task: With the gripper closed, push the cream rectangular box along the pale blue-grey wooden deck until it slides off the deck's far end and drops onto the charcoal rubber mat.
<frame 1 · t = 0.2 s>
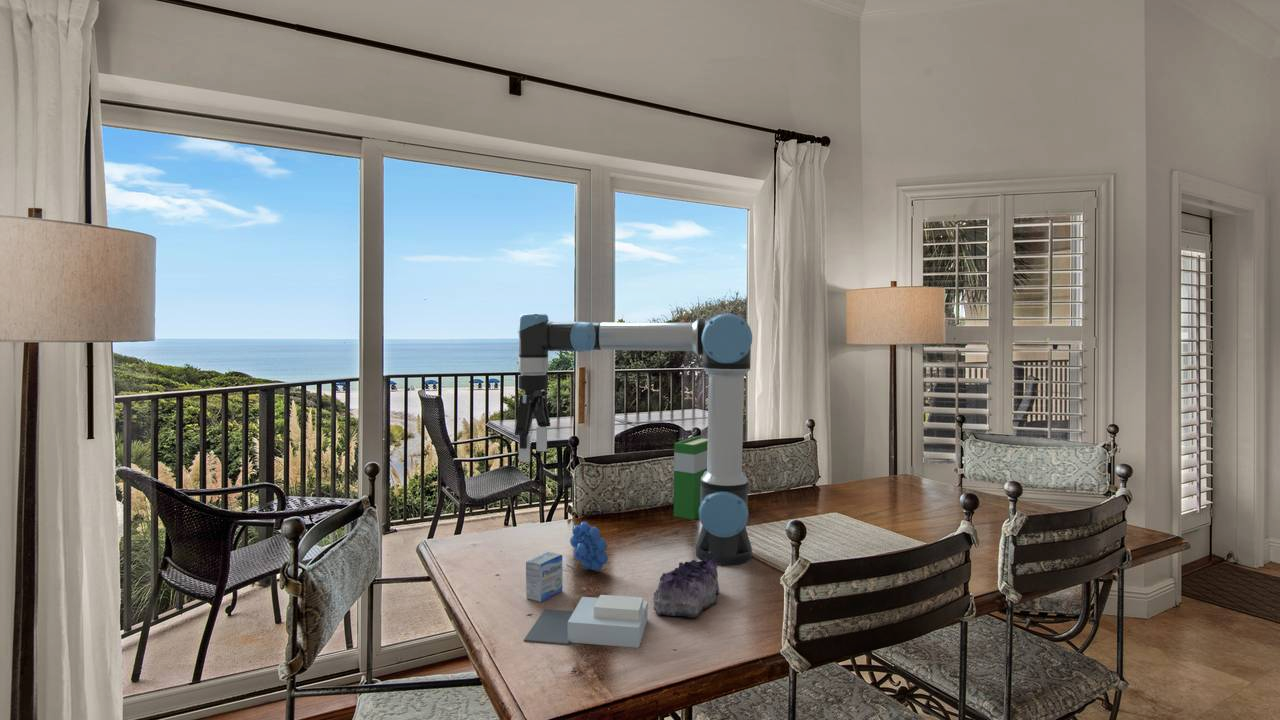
hand: (533, 456, 167), 28 cm above the table, fingers open, 13 cm apart
mat: (556, 626, 132), on the table
medicine box: (544, 595, 148), on the table
cream rectangular box: (618, 612, 130), point 4 cm above the table, touching deck
grapes: (586, 571, 163), on the table
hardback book: (695, 512, 217), on the table
geode: (689, 604, 144), on the table
deck: (608, 630, 130), on the table
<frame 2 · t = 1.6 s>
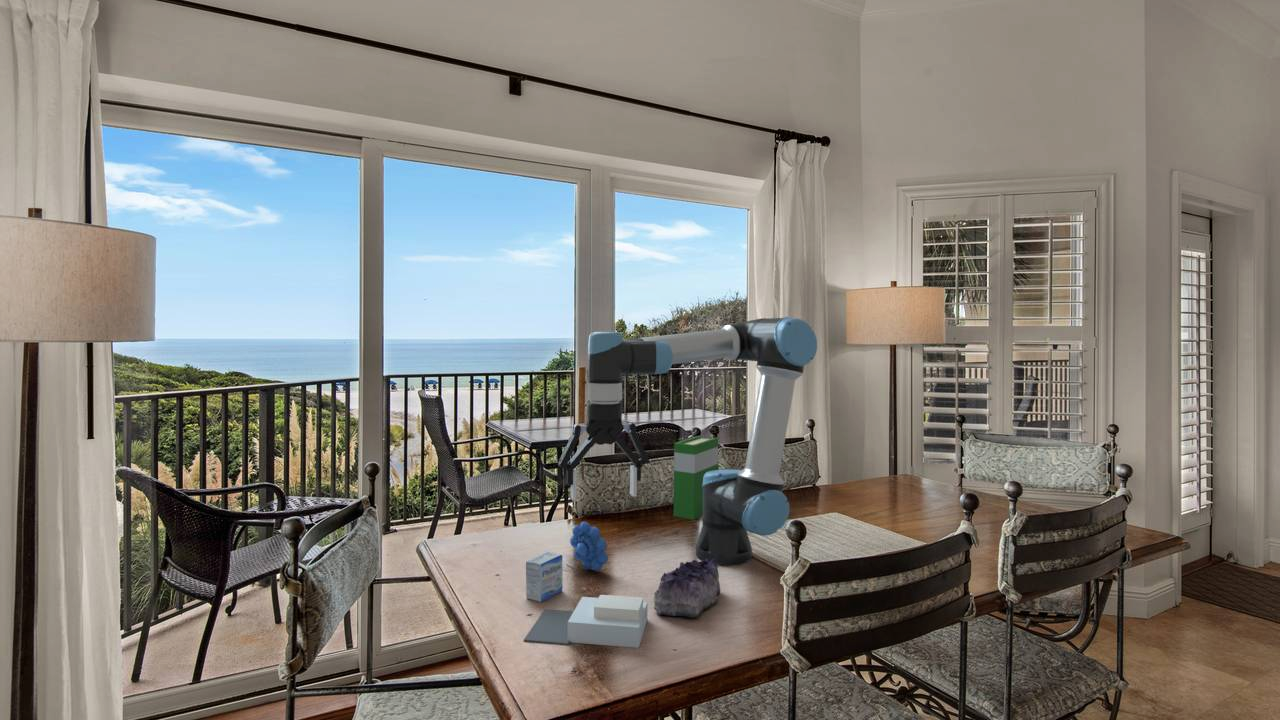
hand: (603, 497, 143), 24 cm above the table, fingers open, 13 cm apart
nothing on the table moved.
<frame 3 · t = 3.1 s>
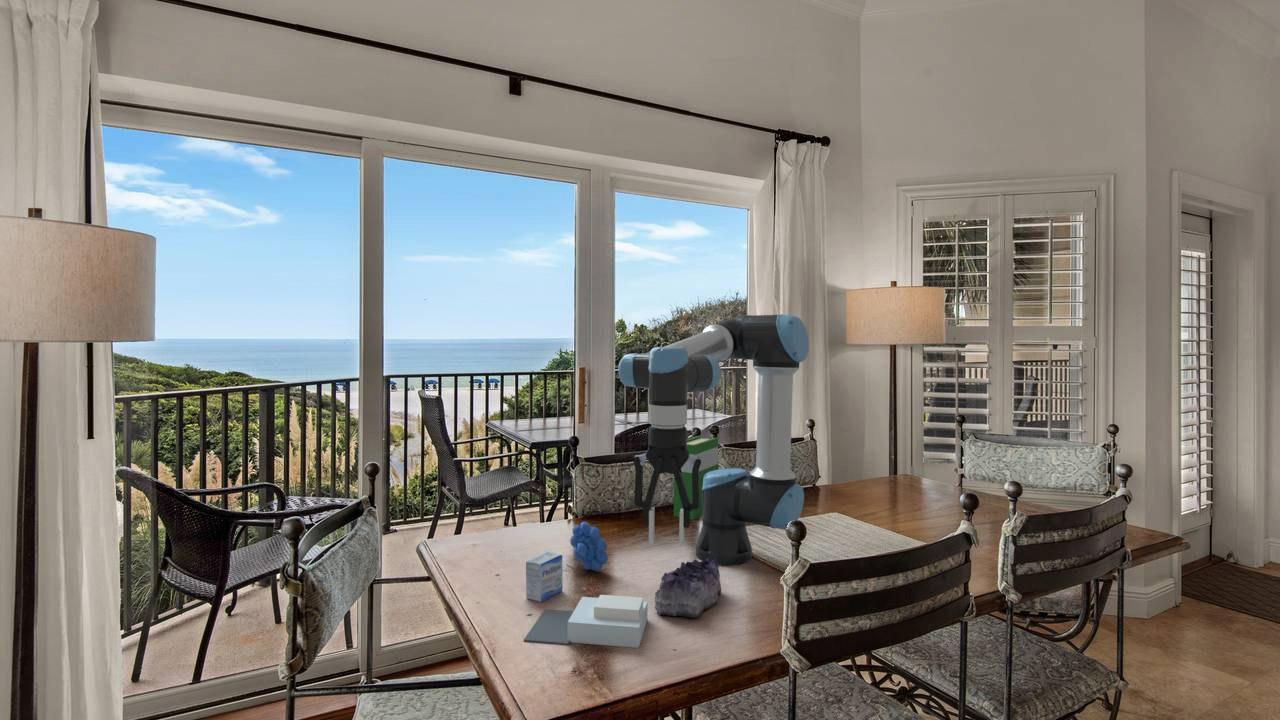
hand: (666, 542, 128), 19 cm above the table, fingers open, 5 cm apart
nothing on the table moved.
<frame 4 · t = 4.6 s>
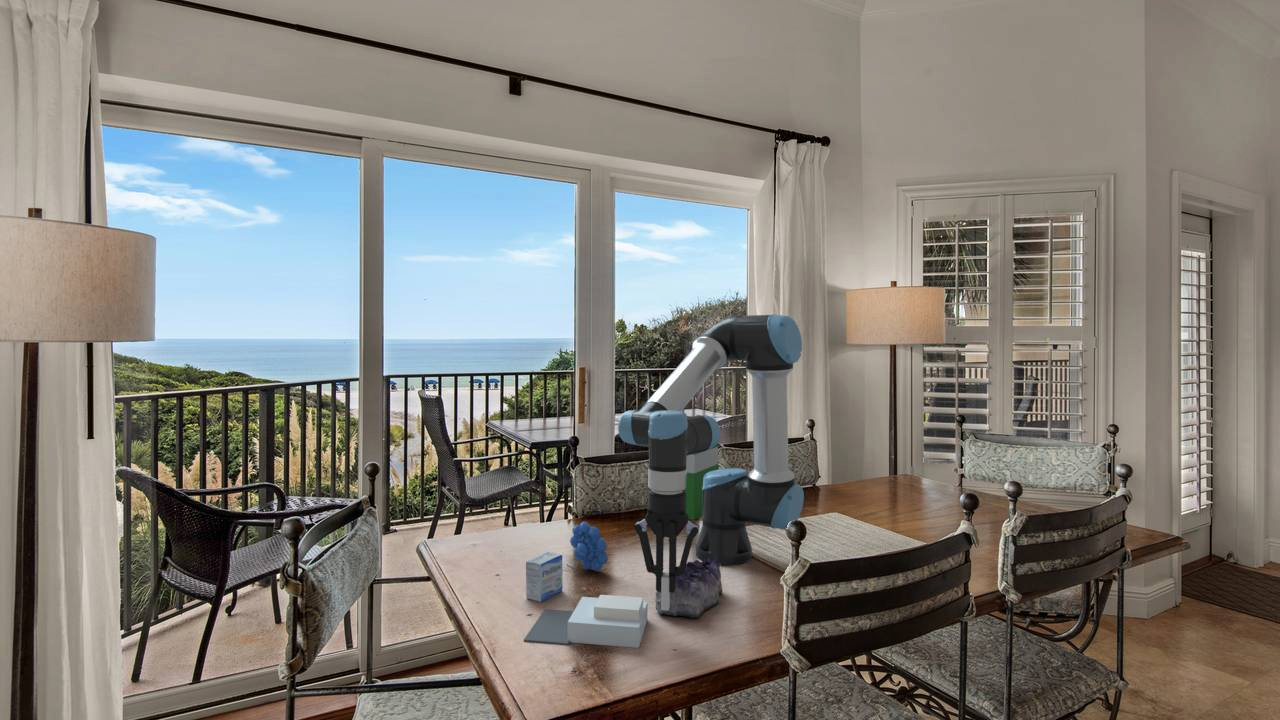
hand: (665, 607, 128), 6 cm above the table, fingers closed
nothing on the table moved.
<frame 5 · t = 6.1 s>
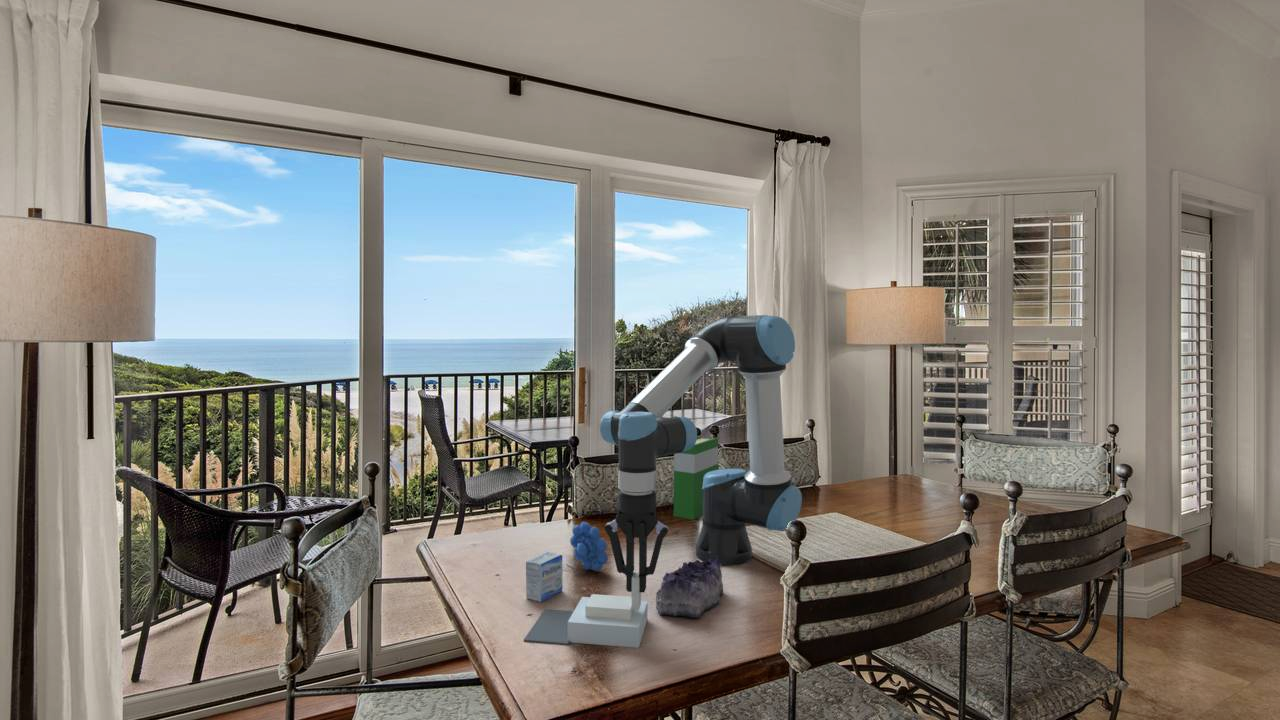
hand: (636, 607, 129), 5 cm above the table, fingers closed
cream rectangular box: (610, 611, 130), point 4 cm above the table
everything else where it was.
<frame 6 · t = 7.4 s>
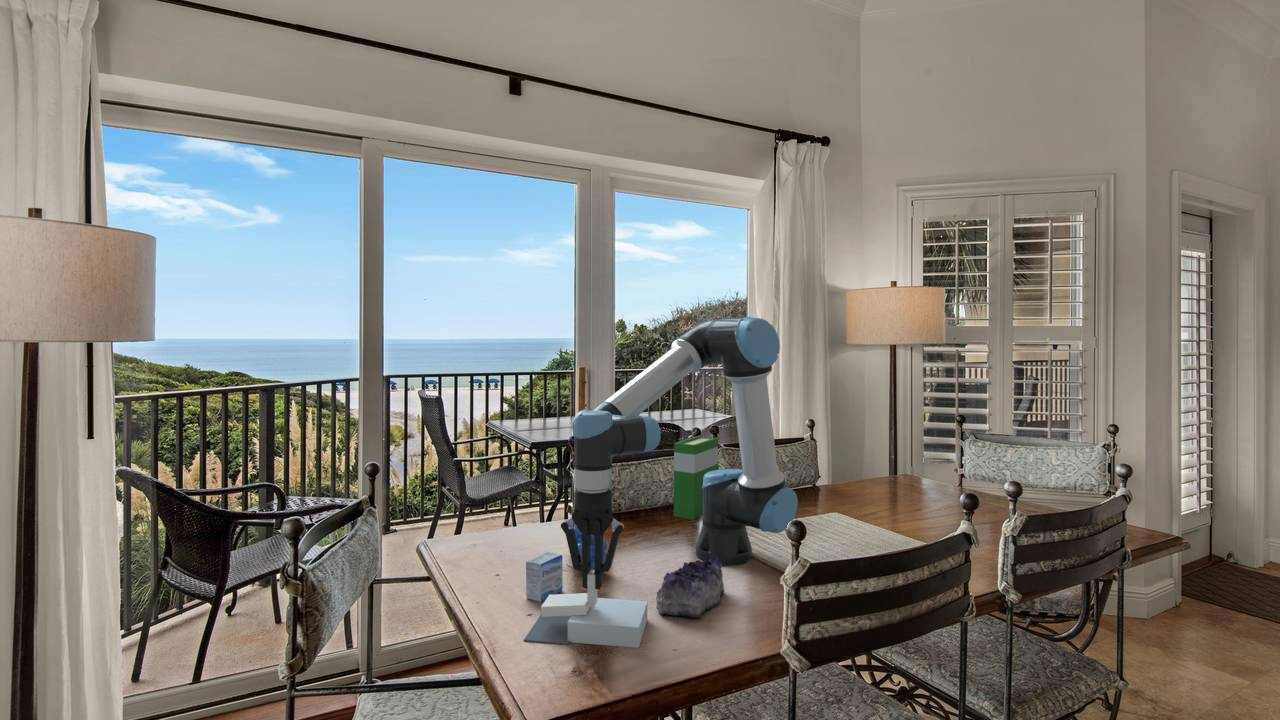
hand: (592, 603, 131), 5 cm above the table, fingers closed
cream rectangular box: (567, 609, 131), point 4 cm above the table, tilted 6°, touching gripper
everything else where it was.
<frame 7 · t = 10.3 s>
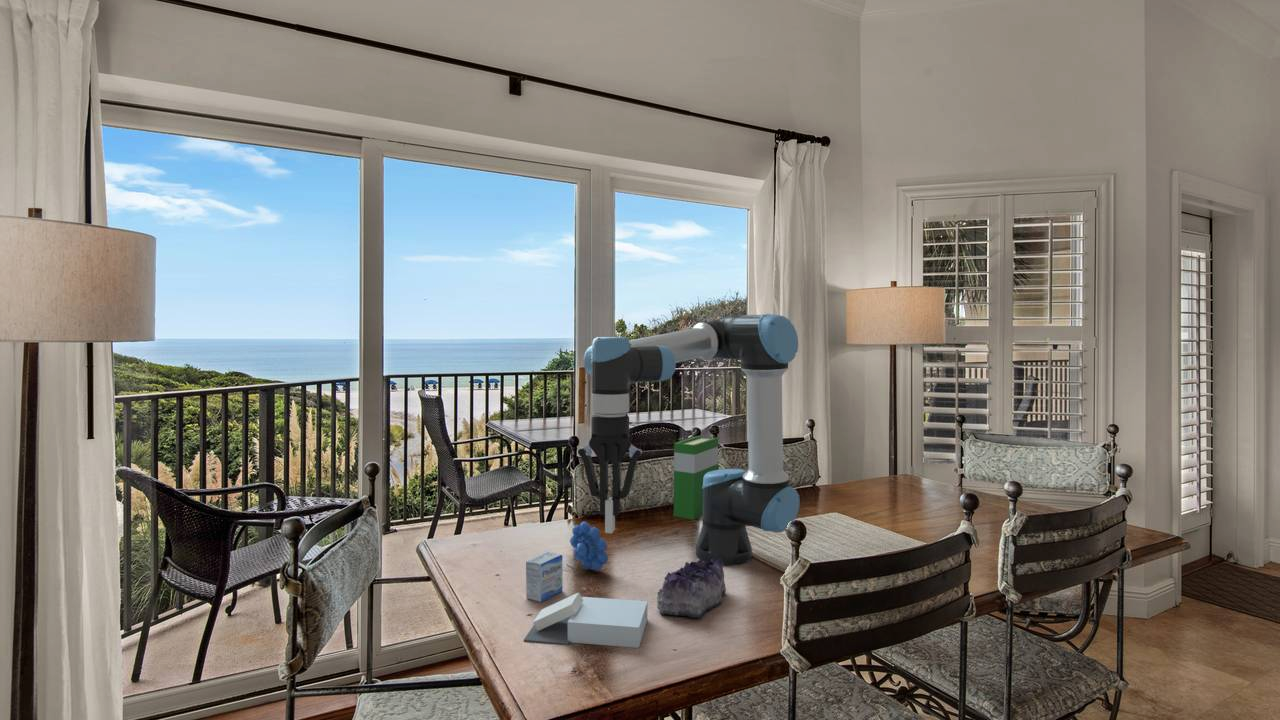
hand: (610, 530, 130), 20 cm above the table, fingers closed
cream rectangular box: (560, 615, 132), point 2 cm above the table, tilted 28°, touching deck, mat
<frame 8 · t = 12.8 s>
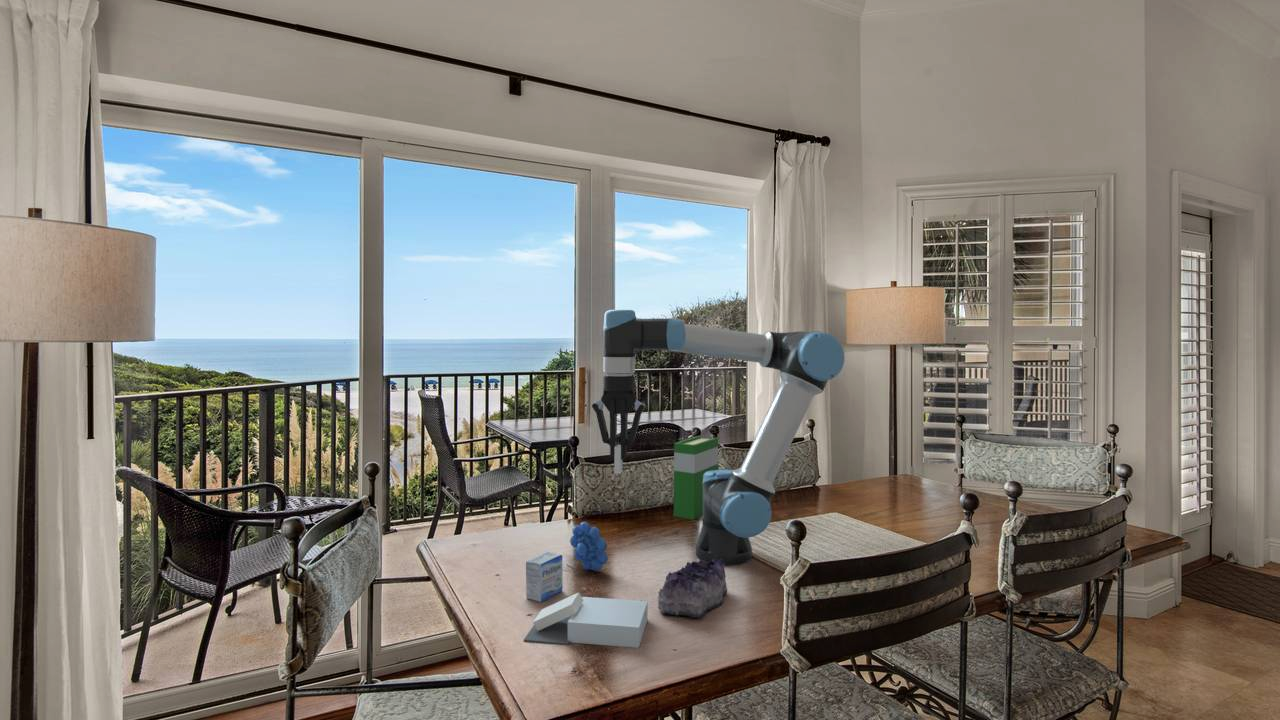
hand: (618, 472, 155), 26 cm above the table, fingers closed
at the end: cream rectangular box point 2.4 cm above the table; cream rectangular box inside the target area on the mat (1.3 cm from its centre), point 2.4 cm above the mat's base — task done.
